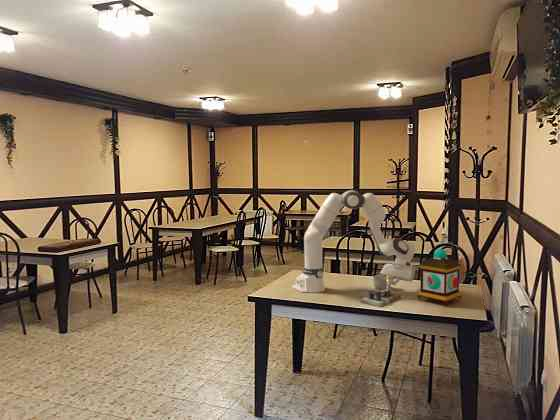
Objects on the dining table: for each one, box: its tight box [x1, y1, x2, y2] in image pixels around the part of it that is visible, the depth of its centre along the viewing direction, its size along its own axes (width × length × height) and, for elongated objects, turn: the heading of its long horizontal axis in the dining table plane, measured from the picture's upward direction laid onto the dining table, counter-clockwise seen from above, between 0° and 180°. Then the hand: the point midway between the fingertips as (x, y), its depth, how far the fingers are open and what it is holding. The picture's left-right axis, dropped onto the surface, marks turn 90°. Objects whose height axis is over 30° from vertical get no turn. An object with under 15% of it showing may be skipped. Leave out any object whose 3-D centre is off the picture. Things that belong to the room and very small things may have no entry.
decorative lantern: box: [417, 247, 462, 308], centre depth 241 cm, size 20×20×30 cm
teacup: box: [372, 274, 386, 291], centre depth 270 cm, size 14×11×8 cm
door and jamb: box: [359, 289, 402, 308], centre depth 244 cm, size 24×12×6 cm, turn 137°
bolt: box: [380, 275, 393, 295], centre depth 247 cm, size 10×3×10 cm, turn 137°
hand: (392, 284), depth 254 cm, fingers closed
